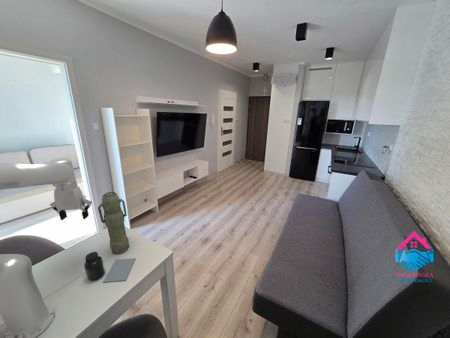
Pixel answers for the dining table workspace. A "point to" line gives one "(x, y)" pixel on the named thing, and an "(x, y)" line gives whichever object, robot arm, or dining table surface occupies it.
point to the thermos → (114, 222)
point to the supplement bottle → (94, 266)
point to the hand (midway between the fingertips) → (75, 218)
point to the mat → (119, 270)
